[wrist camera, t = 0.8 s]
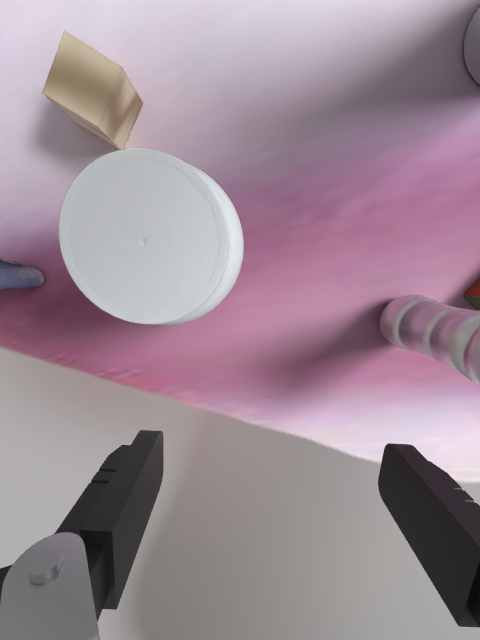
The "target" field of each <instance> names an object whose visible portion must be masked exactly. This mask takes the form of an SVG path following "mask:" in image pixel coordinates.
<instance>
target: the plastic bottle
mask: <svg viewBox="0 0 480 640" xmlns="http://www.w3.org/2000/svg"><path fill="white" fill-rule="evenodd" d="M379 325H380V330H381V333H382V335H383V336H384V337H385V338H386V339H387V340H388V341H389V342H390V343H391V344H393V345H394V346H396V347H399V348H402V349H406V350H411V351H417V352H420V353H423V354H426V355H428V356H431V357H433V358H435V359H437V360H439V361H441V362H443V363H445V364H447V365H448V366H450V367H452V368H454V369H455V370H457V371H458V372H460V373H461V374H462V375H464V376H465V377H467V378H468V379H470V380H471V381H473V382H474V383H476V384H477V385H479V386H480V311H479V310H470V309H462V308H456V307H453V306H449V305H446V304H442V303H439V302H437V301H435V300H433V299H430V298H427V297H424V296H421V295H408V296H402V297H398V298H396V299H394V300H393V301H391V302H390V303H389V304H388V305H387V306H386V307H385V309H384V310H383V312H382V314H381V317H380V324H379Z"/></svg>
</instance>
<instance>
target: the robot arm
mask: <svg viewBox="0 0 480 640" xmlns="http://www.w3.org/2000/svg"><path fill="white" fill-rule="evenodd" d="M464 58H465V63H466V66H467V69H468V71H469V73H470V74H471V76H472V78H473V79H474V80H475V81H476V82H477V83H478V84H479V85H480V7H479V8H478V9H477V11H476V12H475V14H474V15H473V17H472V19H471V21H470V23H469V26H468V28H467V31H466V35H465V40H464ZM162 477H163V432H162V431H147V430H141V431H139V433H138V434H137V436H136V438H135V439H134V441H133V443H132V444H131V445H122V446H120V447H119V448H118V449H116V450H115V451H114V452H113V453H111V454H110V455H109V456H108V457H107V459H106V460H105V461H104V463H103V464H102V466H101V467H100V469H99V472H97V473H96V475H95V476H94V477H93V479H92V481H91V483H89V485H88V486H87V488H86V489H85V491H84V492H83V494H82V495H81V496H80V498H79V499H78V501H77V502H76V504H75V505H74V506H73V508H72V509H71V511H70V512H69V514H68V515H67V517H66V518H65V519H64V521H63V522H62V524H61V525H60V527H59V528H58V530H57V531H56V532H55V534H54V535H51V536H49V537H46V538H44V539H42V540H40V541H39V542H37V543H35V544H34V545H32V547H30V548H29V549H27V550H26V551H25V552H24V553H23V554H22V555H21V556H20V557H19V558H18V559H17V560H16V561H15V562H14V564H13V565H10V566H7V567H4V568H1V569H0V640H100V636H99V631H98V624H97V621H98V619H99V616H100V614H101V611H102V609H117V607H118V604H119V601H120V598H121V596H122V593H123V590H124V587H125V584H126V581H127V579H128V576H129V573H130V570H131V568H132V565H133V562H134V559H135V557H136V554H137V551H138V548H139V545H140V543H141V540H142V537H143V534H144V531H145V528H146V526H147V523H148V520H149V518H150V515H151V512H152V509H153V506H154V504H155V501H156V498H157V495H158V492H159V489H160V486H161V482H162ZM378 486H379V492H380V495H381V497H382V500H383V502H384V503H385V505H386V506H387V508H388V510H389V512H390V513H391V515H392V516H393V518H394V520H395V522H396V523H397V525H398V527H399V528H400V530H401V532H402V533H403V535H404V536H405V538H406V540H407V541H408V543H409V545H410V546H411V548H412V550H413V551H414V553H415V555H416V556H417V558H418V560H419V561H420V563H421V564H422V566H423V568H424V570H425V571H426V573H427V575H428V576H429V578H430V579H431V581H432V583H433V584H434V586H435V588H436V589H437V591H438V593H439V594H440V596H441V598H442V599H443V601H444V603H445V604H446V606H447V608H448V609H449V611H450V612H451V614H452V616H453V618H454V619H455V621H456V623H457V624H458V626H462V627H480V506H479V505H478V504H477V503H474V500H473V499H472V498H471V497H470V496H469V495H468V494H467V493H466V492H465V491H463V490H462V488H461V487H460V486H459V485H458V484H457V483H456V482H455V481H454V480H453V479H452V478H451V476H450V475H449V474H448V473H446V472H445V471H443V470H442V469H440V468H439V467H437V466H436V465H434V464H433V463H432V462H430V461H427V460H426V459H425V458H424V457H423V456H422V454H421V453H420V452H419V451H418V450H417V449H416V448H415V447H414V446H412V445H408V444H387V445H386V446H385V449H384V453H383V459H382V464H381V469H380V474H379V480H378Z"/></svg>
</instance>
